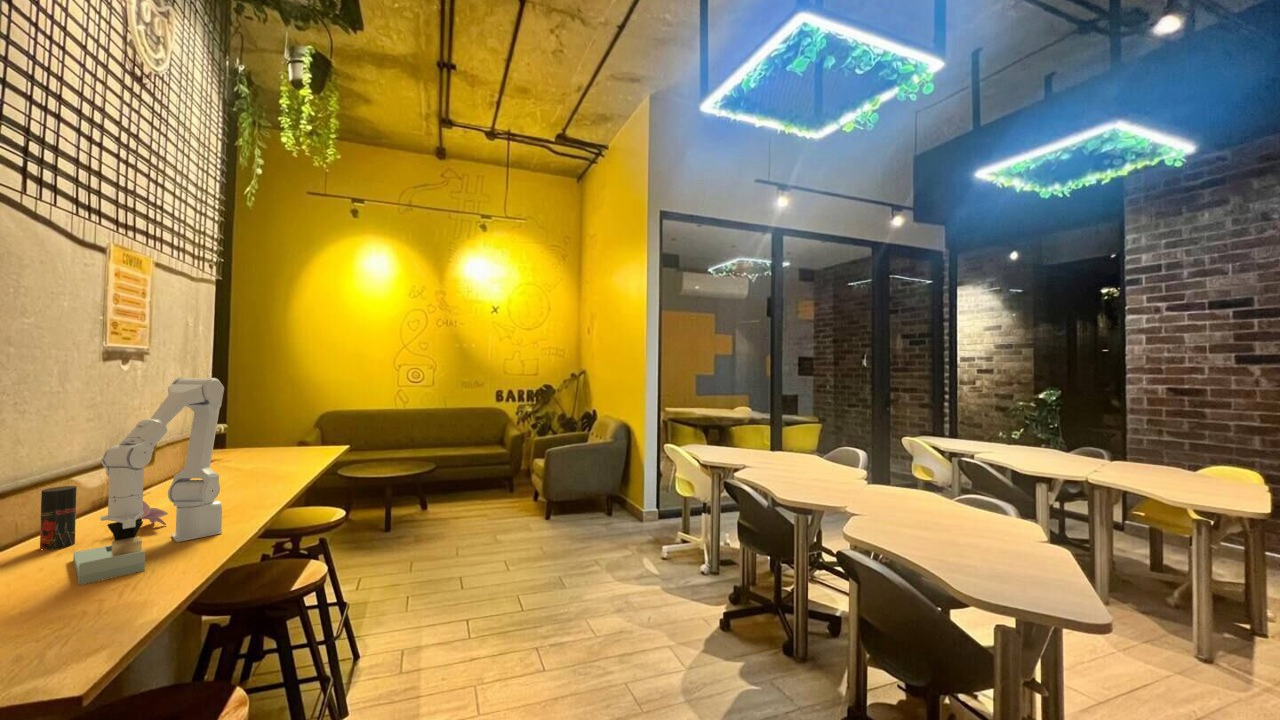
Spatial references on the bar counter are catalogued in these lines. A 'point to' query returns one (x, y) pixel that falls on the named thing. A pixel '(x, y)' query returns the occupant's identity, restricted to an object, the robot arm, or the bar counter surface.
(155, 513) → the lily
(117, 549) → the beech block
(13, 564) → the bar counter surface
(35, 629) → the bar counter surface
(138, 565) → the board
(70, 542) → the deodorant
